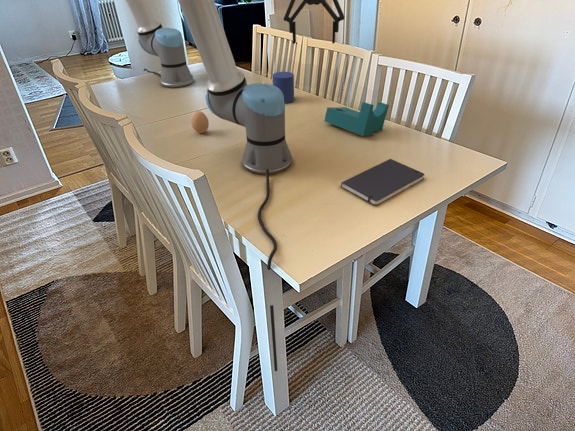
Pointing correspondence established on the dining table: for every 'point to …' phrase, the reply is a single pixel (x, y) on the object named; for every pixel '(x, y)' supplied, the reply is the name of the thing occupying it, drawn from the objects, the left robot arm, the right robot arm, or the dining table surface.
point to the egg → (199, 122)
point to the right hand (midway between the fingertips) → (313, 42)
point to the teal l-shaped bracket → (358, 118)
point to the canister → (285, 85)
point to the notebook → (382, 181)
